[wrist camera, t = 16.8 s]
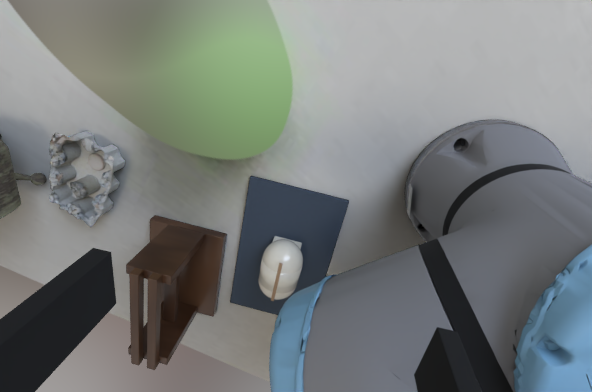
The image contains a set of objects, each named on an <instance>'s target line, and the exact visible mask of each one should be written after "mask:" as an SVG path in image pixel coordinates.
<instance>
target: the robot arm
mask: <svg viewBox="0 0 592 392" xmlns="http://www.w3.org/2000/svg"><path fill="white" fill-rule="evenodd" d="M405 203H406V208H407V213H408V216H409V218H410V219H411V222H412V224H413V226H414V227H415V229H416V231H417V232H418V233H419V235H420V236H421V237H422V238H423V239H424V240H425V241H426V243H424V244H421V245H417V246H414V247H411V248H409V249H406V250H403V251H400V252H398V253H395V254H392V255H390V256H387V257H384V258H381V259H379V260H376V261H373V262H371V263H368V264H365V265H362V266H360V267H357V268H354V269H352V270H349V271H346V272H343V273H341V274H338V275H331V276H326V277H325V278H324V279H322V281H321V282H318V283H316V284H314V285H311V286H309V287H307V288H304V289H302V290H300V291H298V292H296V293H295V294H293V295H292V296H291V297H290V298H289V299H288V300H287V301H286V302H285V303H284V305H283V307H282V308H281V310H280V312H279V314H278V317H277V320H276V323H275V330H274V333H273V334H272V339H271V346H270V362H269V371H270V385H271V392H592V184H591V183H589V182H587V181H585V180H583V179H581V178H579V177H577V176H575V175H573V173H572V171H571V170H570V168H569V166H568V165H567V163H566V162H565V160H564V158H563V156H562V155H561V153H560V152H559V150H558V149H557V147H556V146H555V145H554V144H553V143H552V142H551V141H550V140H549V139H548V138H547V137H545V136H544V135H542V134H541V133H539V132H537V131H535V130H533V129H530V128H528V127H525V126H523V125H520V124H517V123H514V122H510V121H504V120H482V121H476V122H471V123H467V124H464V125H461V126H459V127H456V128H454V129H452V130H450V131H448V132H446V133H444V134H443V135H441V136H440V137H438V138H437V139H435V140H434V141H433V142H432V143H431V144H429V145H428V146H427V147H426V148H425V149H424V150H423V152H422V153H421V154H420V155H419V156H418V158H417V159H416V161H415V162H414V164H413V166H412V168H411V170H410V172H409V175H408V178H407V181H406V186H405ZM115 304H116V296H115V287H114V277H113V267H112V257H111V252H108V251H103V250H99V249H95V248H93V249H91V250H90V251H89V252H88V253H86V254H85V255H84V256H82V257H81V258H80V259H78V260H77V261H76V262H74V263H73V264H72V265H71V266H69V267H68V268H67V269H65V270H64V271H63V272H61V273H60V274H59V275H58V276H56V277H55V278H54V279H52V280H51V281H50V282H48V283H47V284H46V285H44V286H43V287H42V288H41V289H39V290H38V291H37V292H35V293H34V294H33V295H31V296H30V297H29V298H28V299H26V300H25V301H24V302H23V303H21V304H20V305H18V306H17V307H16V308H14V309H13V310H12V311H11V312H9V313H8V314H7V315H5V316H4V317H3V318H1V319H0V392H35V391H36V390H37V389H38V388H39V387H40V385H41V384H42V383H43V382H44V381H45V380H46V379H47V378H48V377H49V376H50V375H51V374H52V373H53V371H54V370H55V369H56V368H57V367H58V366H59V365H60V364H61V363H62V362H63V361H64V360H65V358H66V357H67V356H68V355H69V354H70V353H71V352H72V351H73V350H74V349H75V348H76V347H77V345H78V344H79V343H80V342H81V341H82V340H83V339H84V338H85V337H86V336H87V335H88V333H89V332H90V331H91V330H92V329H93V328H94V327H95V326H96V325H97V324H98V323H99V322H100V320H101V319H102V318H103V317H104V316H105V315H106V314H107V313H108V312H109V311H110V310H111V309H112V307H113V306H114V305H115Z"/></svg>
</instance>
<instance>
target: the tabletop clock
mask: <svg viewBox="0 0 592 392" xmlns="http://www.w3.org/2000/svg"><path fill="white" fill-rule="evenodd" d="M0 139H1V135H0ZM16 180H31V182H32V183H33V184H35V185H41V184H44V183H45V182H46V177H45V175H43V174H42V173H34V174H33V175H31V176H28V175H23V174H18V173H14V170H13V166H12V162H11V158H10V153H9V149H8V147H7V146H6V145H5V144H4V143H3V142H2V141H1V140H0V218H2V217H4V216H6V215H7V214H9V213H11V212H12V211H14V210H15V209H16V208H17V207H18V206H19V205H20V204H21V200H20V196H19V192H18V187H17V183H16Z"/></svg>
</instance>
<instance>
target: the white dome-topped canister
mask: <svg viewBox="0 0 592 392" xmlns="http://www.w3.org/2000/svg"><path fill="white" fill-rule="evenodd" d="M301 245H302V243H301V242H297V241H293V240H289V239H285V238H282V237H278V236H274V239H273V241H272V243H270V244H269V245H268V246H267V247H266V249H265V251H264V253H263V256H262V261H261V266H260V271H259V276H258V283H259V287H260V289H261V291H262V292H263V293H264V294H265V295H266V296H267V297H269V298H271V301H274V300H281V299H285V298H287V297H289V296H290V295H291V294H292V293H293V292H294V291H295V289H296V287H297V284H298V280H299V277H300V273H301V269H302V266H303V255H302V252H301Z"/></svg>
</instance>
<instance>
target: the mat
mask: <svg viewBox="0 0 592 392" xmlns="http://www.w3.org/2000/svg"><path fill="white" fill-rule="evenodd" d="M348 203H349V200H345V199H341V198H337V197H334V196H330V195H326V194H322V193H318V192H314V191H310V190H306V189H302V188H298V187H294V186H290V185H286V184H282V183H278V182H274V181H270V180H266V179H262V178H258V177H254V176H251V177H250V181H249V187H248V193H247V200H246V206H245V212H244V219H243V225H242V231H241V237H240V244H239V250H238V256H237V263H236V269H235V275H234V281H233V288H232V294H231V300H230V302H231V303H235V304H239V305H242V306H246V307H250V308H253V309H257V310H261V311H265V312H268V313H272V314H276V315H278V314H279V312H280V310H281V308H282V307H283V305H284V303H285V302H286V301H287V300H288V299H289V298H290V297H291V296H292V295H293V294H295V293H296V292H298V291H300V290H302V289H304V288H307V287H309V286H311V285H314V284H316V283H318V282H321V281H322V279H324V278H325V276H326V273H327V270H328V267H329V264H330V260H331V257H332V254H333V251H334V248H335V245H336V241H337V238H338V235H339V232H340V229H341V226H342V222H343V219H344V216H345V213H346V210H347V207H348ZM274 236H278V237H282V238H285V239H289V240H293V241H297V242H301V243H302V245H301V252H302V255H303V266H302V269H301V273H300V277H299V280H298V284H297V287H296V289H295V291H294V292H293V293H292V294H291V295H290V296H289V297H287V298H285V299H281V300H274V301H271V298H269V297H267V296H266V295H265V294H264V293H263V292H262V291H261V289H260V287H259V283H258V276H259V271H260V266H261V261H262V256H263V253H264V251H265V249H266V247H267V246H268V245H269V244H270V243H272V241H273V239H274Z"/></svg>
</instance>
